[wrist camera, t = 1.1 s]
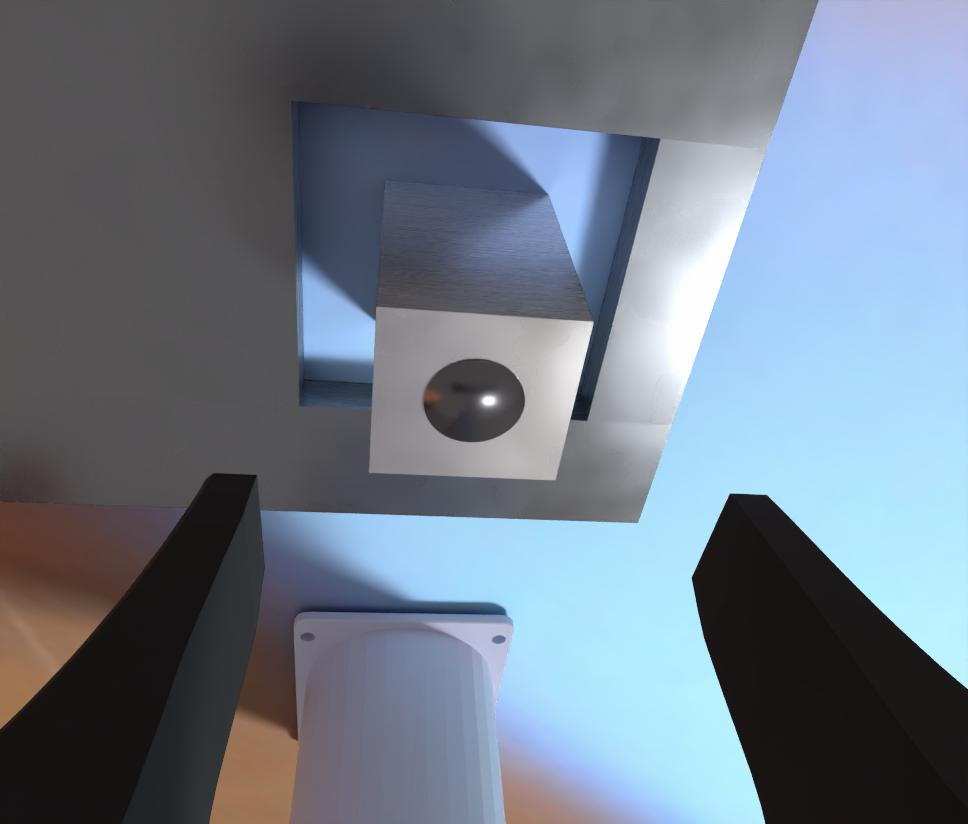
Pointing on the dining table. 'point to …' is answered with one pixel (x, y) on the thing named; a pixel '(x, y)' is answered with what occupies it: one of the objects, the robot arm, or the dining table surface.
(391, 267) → the block
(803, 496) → the dining table surface
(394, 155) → the dining table surface
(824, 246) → the dining table surface
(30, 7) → the metal assembly board
